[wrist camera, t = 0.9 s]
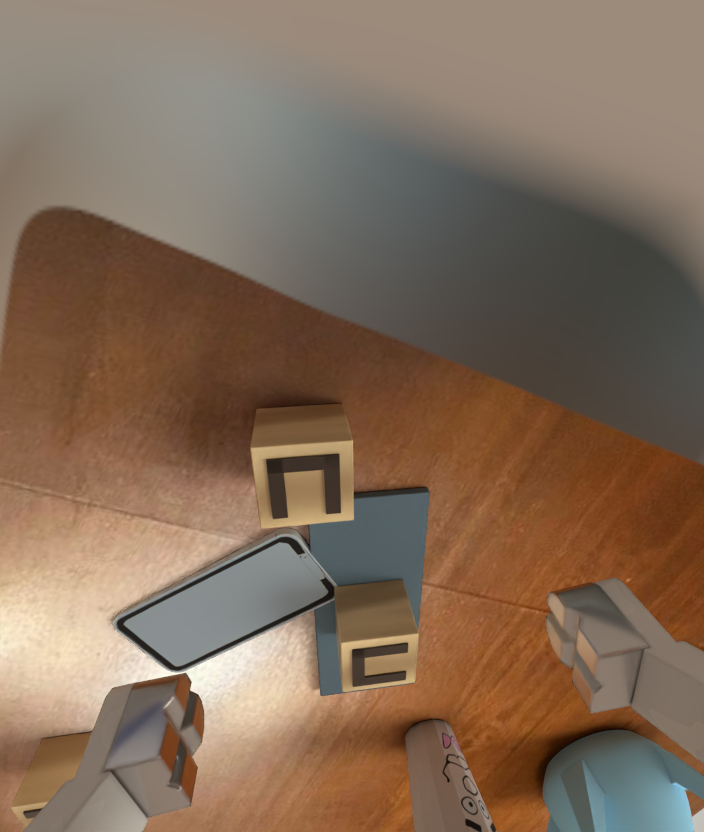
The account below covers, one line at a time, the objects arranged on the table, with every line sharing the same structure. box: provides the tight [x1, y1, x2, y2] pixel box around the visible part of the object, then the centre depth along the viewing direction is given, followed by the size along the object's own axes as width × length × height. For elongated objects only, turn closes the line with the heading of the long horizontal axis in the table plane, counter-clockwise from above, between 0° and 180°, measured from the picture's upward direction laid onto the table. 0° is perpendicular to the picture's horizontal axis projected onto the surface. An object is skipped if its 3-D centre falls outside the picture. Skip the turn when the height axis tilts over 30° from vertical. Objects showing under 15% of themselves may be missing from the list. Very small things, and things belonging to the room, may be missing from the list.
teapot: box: [543, 730, 704, 832], centre depth 44 cm, size 15×15×11 cm
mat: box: [308, 487, 430, 696], centre depth 33 cm, size 20×8×1 cm, turn 1°
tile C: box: [250, 404, 354, 529], centre depth 24 cm, size 5×5×5 cm
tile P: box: [11, 732, 92, 828], centre depth 34 cm, size 5×5×5 cm
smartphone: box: [113, 528, 338, 672], centre depth 31 cm, size 7×1×15 cm
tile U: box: [334, 579, 419, 692], centre depth 30 cm, size 5×5×5 cm
